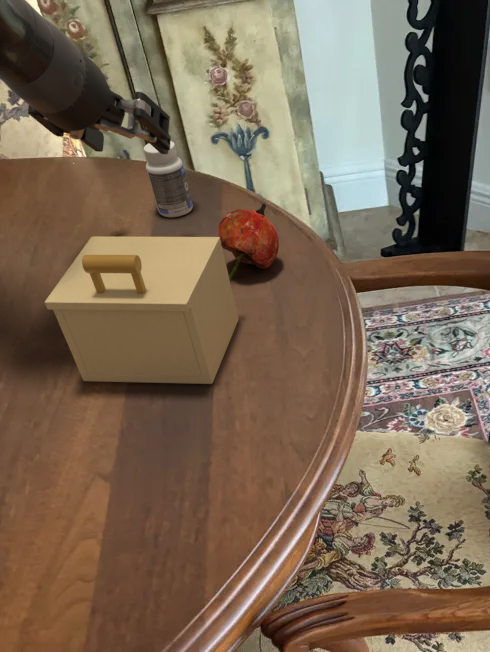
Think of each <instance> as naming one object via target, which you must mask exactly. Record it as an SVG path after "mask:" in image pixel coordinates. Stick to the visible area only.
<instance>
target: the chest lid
mask: <svg viewBox="0 0 490 652" xmlns="http://www.w3.org/2000/svg"><path fill="white" fill-rule="evenodd" d="M220 246H221V240H220V237H219V236H103V235H102V236H100V235H99V236H97V235H95V236H91V237H90V238H89V239H88V240H87V242H86V243H85V245H84V246H83V248H82V249H81V251H80V252H79V254H78V255H77V256H76V257H75V259H74V260H73V262H72V263H71V264H70V266H69V267H68V268H67V270H66V272H65V273H64V274H63V276H62V277H61V278H60V280H59V281H58V282H57V284H56V285H55V287H54V288H53V289H52V291H51V292H50V294H49V295H48V297H46V300H45V301H44V304H45V308H47V310H53V309H62V310H136V311H189V309H190V307H191V305H192V303H193V301H194V299H195V297H196V295H197V292H198V290H199V288H200V286H201V284H202V282H203V280H204V278H205V276H206V274H207V272H208V270H209V268H210V266H211V264H212V262H213V260H214V258H215V256H216V254H217V252H218V250H219V248H220Z"/></svg>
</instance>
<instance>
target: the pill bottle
mask: <svg viewBox="0 0 490 652" xmlns="http://www.w3.org/2000/svg"><path fill="white" fill-rule="evenodd" d="M143 154H144V156H145V159H146V161H147V162H146V165H145V171H146V174H147V177H148V181H149V184H150V187H151V190H152V194H153V198H154V201H155V205H156V208H157V211H158V214H159V215H161V216H162V217H166V218H178V217H182V216H184V215H187V214H189V213H190V212H191V211H192V210H193V208H194V204H193V200H192V196H191V192H190V189H189V183H188V179H187V176H186V171H185V167H184V164H183V161H182V159H181V158H180V157H179V156H178V150H177V148H176V145H175V142H174V141H172V140H171V142H170V150H168V154H161V153H160V152H158V151H157V150H156V149H155V148H154V147H153V146H152V145H151V144H150V143H147V144H146V145H144V147H143Z"/></svg>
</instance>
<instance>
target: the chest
mask: <svg viewBox="0 0 490 652" xmlns="http://www.w3.org/2000/svg"><path fill="white" fill-rule="evenodd" d="M230 280H231V279H230ZM230 280H229V272H228V267H227V263H226V258H225V254H224V251H223V248H222V245H221V246H220V248H219V250H218V252H217V254H216V256H215V258H214V260H213V262H212V264H211V266H210V268H209V270H208V272H207V274H206V276H205V278H204V280H203V282H202V284H201V286H200V288H199V290H198V292H197V295H196V297H195V299H194V301H193V303H192V305H191V307H190V309H189V311H136V310H62V309H52V311H53V313H54V315H55V317H56V318H55V319H56V320H57V322H58V325H59V328H60V330H61V332H62V334H63V336H64V339H65V341H66V343H67V345H68V348H69V350H70V353H71V355H72V357H73V360H74V362H75V365H76V366H77V370H78V372H79V374H80V376H81V379H82V381H83V382H102V383H103V382H104V383H105V382H106V383H112V382H113V383H150V384H151V383H152V384H153V383H155V384H196V385H197V384H201V385H212V384H213V383H214V381H215V378H216V376H217V374H218V371H219V368H220V366H221V363H222V361H223V359H224V356H225V354H226V351H227V349H228V347H229V344H230V341H231V340H232V337H233V334H234V332H235V329H236V327H237V324H238V322H239V320H240V319H239V314H238V311H237V306H236V303H235V302H236V301H235V298H234V294H233V290H232V284H231V281H230Z"/></svg>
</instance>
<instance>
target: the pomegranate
mask: <svg viewBox="0 0 490 652" xmlns="http://www.w3.org/2000/svg"><path fill="white" fill-rule="evenodd" d="M266 208H267V204H266V203H265V202H264V203H262V204H261V206H260V207H259V208H258V209H257V210H254V209H241V208H239V209H235V210H233V211H229V212H227V213H226V214H225V215H224V216H223V217H222V218H221V219H220V221H219V223H218V226H217V227H218V229H217V237H220V240H221V245H222V249H224V250H226V251H228V252H230V253H232V255H233V257H234V258H235V259H236V261H235V263H234V266H233V267H232V269H231V272H230V273H229V274H228V276H229V280H231V279H232V278H233V275H234V273H236V271H237V270H238V266H239V263H240V262H241V263H243V264H248V265H255V266H256V267H257V268H258V269H262V270H267V269H268V268H270V267H271V265H273V263H274V261H275V260H276V258H277V257H278V254H279V248H280V243H279V240H280V239H279V235H278V231H277V229H276V227H275V226H274V224H273V223H272V222H271V221H270V220H269V219H268V217H267V216H266V215H265V211H266Z"/></svg>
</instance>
